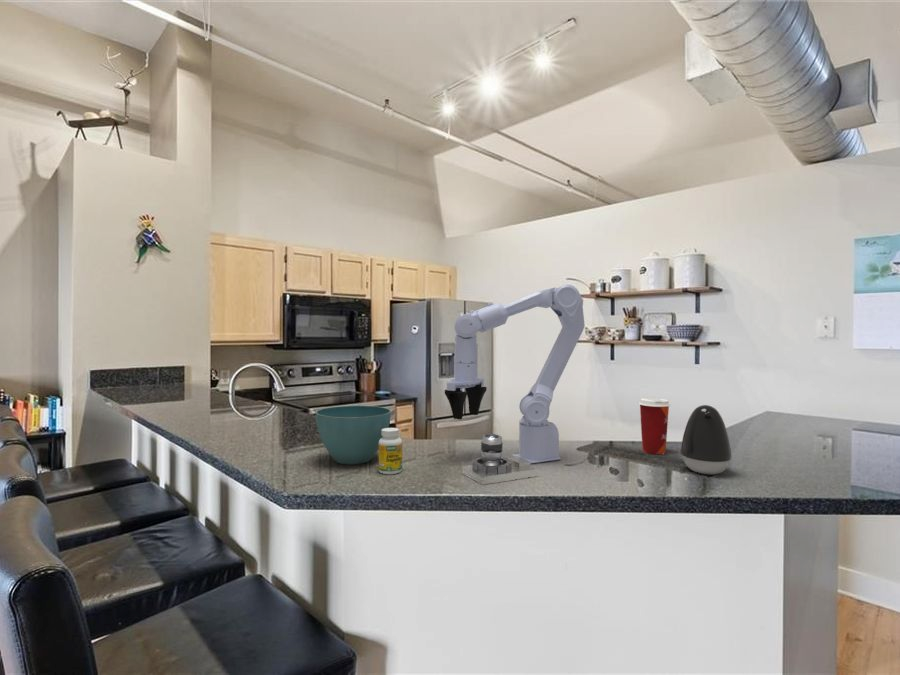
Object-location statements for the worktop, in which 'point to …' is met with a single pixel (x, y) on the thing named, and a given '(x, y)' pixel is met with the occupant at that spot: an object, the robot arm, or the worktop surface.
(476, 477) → the octagonal collar plate
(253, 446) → the worktop surface
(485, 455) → the lens
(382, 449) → the supplement bottle
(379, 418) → the teal bowl
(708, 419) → the black egg-shaped body
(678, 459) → the worktop surface
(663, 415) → the paper cup
